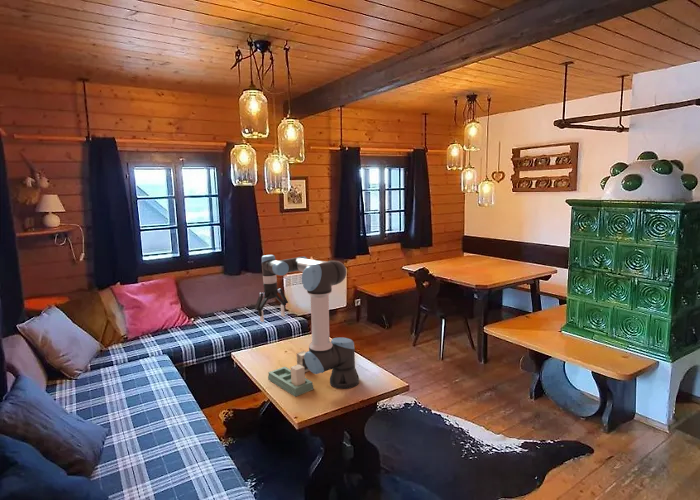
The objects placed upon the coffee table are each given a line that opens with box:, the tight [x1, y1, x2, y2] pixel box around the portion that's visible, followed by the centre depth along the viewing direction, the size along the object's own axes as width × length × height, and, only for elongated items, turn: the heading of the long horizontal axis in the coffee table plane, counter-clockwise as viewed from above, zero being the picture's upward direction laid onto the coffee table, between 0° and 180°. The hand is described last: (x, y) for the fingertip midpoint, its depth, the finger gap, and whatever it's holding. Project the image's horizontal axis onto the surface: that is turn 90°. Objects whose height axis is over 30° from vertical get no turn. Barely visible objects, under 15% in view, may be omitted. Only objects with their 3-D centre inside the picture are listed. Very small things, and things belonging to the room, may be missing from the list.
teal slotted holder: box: [267, 364, 315, 398], centre depth 224 cm, size 26×11×12 cm, turn 40°
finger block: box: [296, 350, 311, 373], centre depth 240 cm, size 6×5×10 cm
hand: (272, 318), depth 249 cm, fingers open, 13 cm apart
